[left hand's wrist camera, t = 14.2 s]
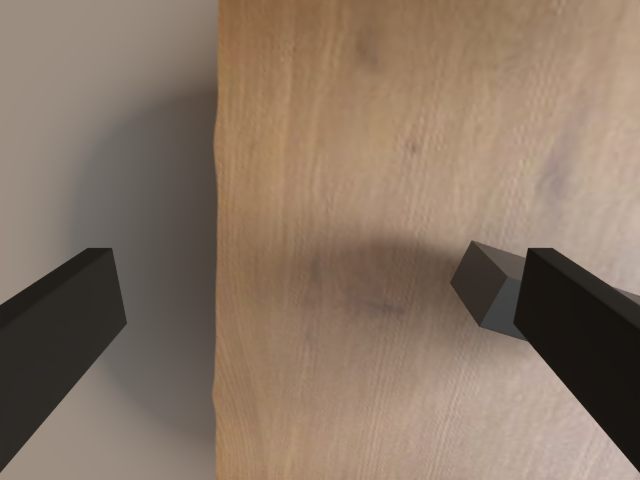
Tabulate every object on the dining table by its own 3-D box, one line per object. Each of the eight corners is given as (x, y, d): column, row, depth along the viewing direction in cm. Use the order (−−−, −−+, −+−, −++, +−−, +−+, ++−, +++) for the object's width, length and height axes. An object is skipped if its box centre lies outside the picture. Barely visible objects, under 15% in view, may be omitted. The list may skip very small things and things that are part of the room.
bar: (449, 282, 42) (478, 326, 34) (471, 240, 40) (507, 276, 32) (655, 347, 45) (725, 401, 37) (684, 310, 43) (764, 359, 35)
